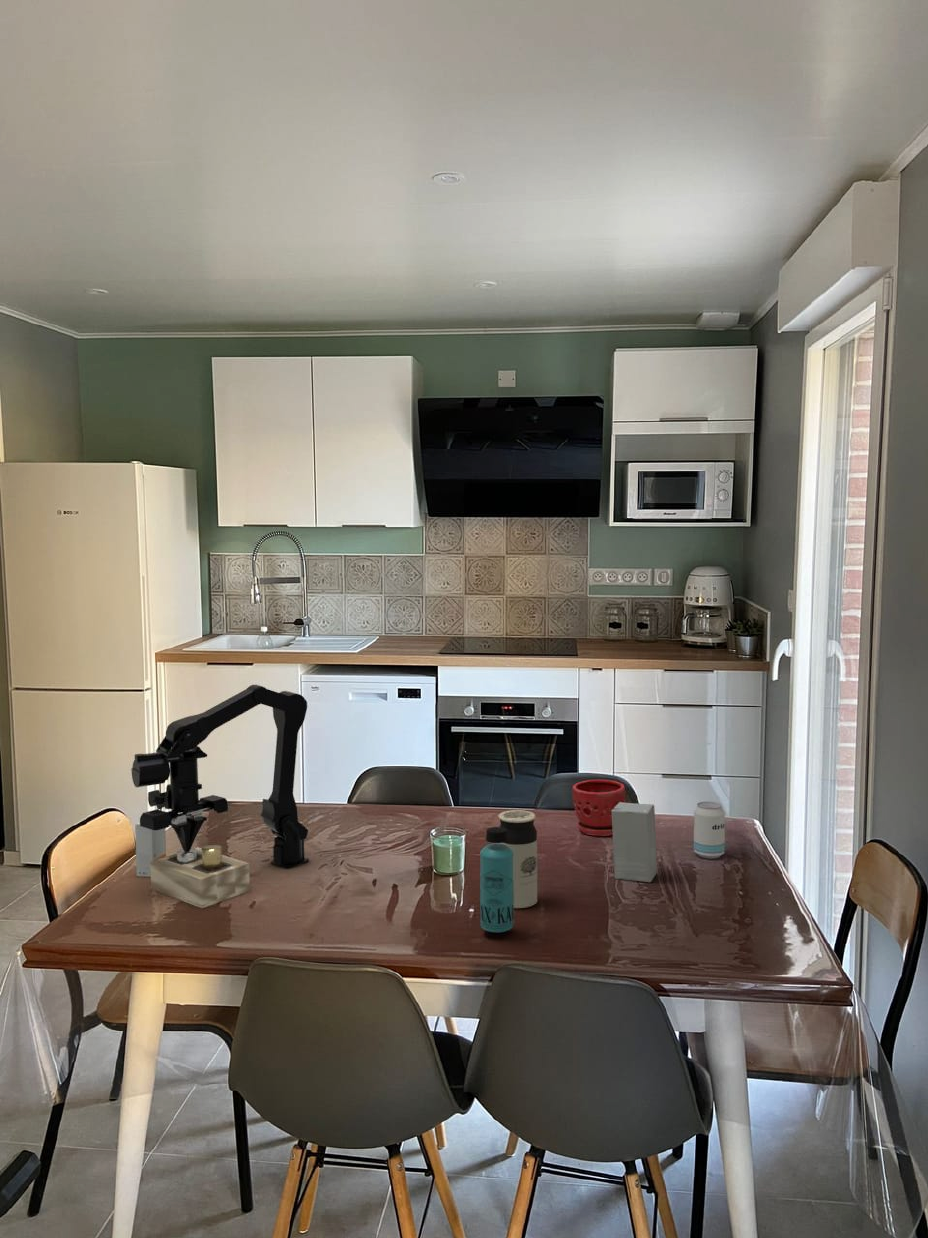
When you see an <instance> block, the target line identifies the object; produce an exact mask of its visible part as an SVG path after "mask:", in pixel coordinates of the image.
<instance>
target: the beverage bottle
mask: <svg viewBox="0 0 928 1238" xmlns="http://www.w3.org/2000/svg"><path fill="white" fill-rule="evenodd" d="M485 833H486V834H485V841H486V842H487V843H490V844H486V845H485V846H484V847H483V848H482V849H481V850H480V852H479V856H480V862H479V863H480V875H479V880H478V881H479V886H478V887H479V890H478V891H479V896H478V897H479V906H478V907H479V924H480V927H481V928H482V929H483V930H484V931H487V932H490V933H503V932H507V931H510V930H511V929H512V928H513V926H514V922H515V918H514V916H515V908H514V881H513V856H514V852H513V851H512V850H511V849H510V848H509V847H508V846H507V845H504V844H498V843H504V842H507V841H508V833H507V829H506V828H503V827H500V826H492V827H488V828H486V832H485Z"/></svg>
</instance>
